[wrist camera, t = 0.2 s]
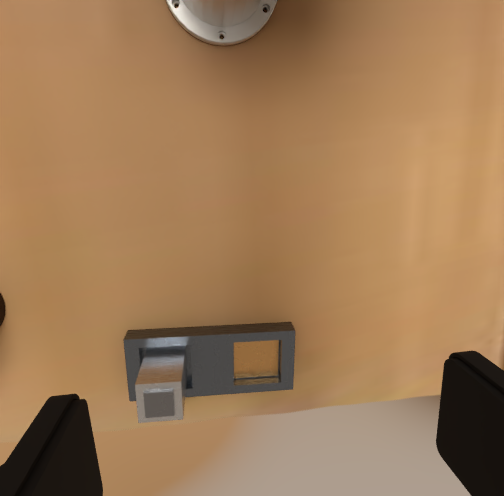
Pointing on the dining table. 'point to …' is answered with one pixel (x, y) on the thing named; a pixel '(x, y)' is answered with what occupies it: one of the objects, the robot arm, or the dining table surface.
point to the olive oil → (2, 309)
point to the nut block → (162, 384)
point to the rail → (222, 357)
